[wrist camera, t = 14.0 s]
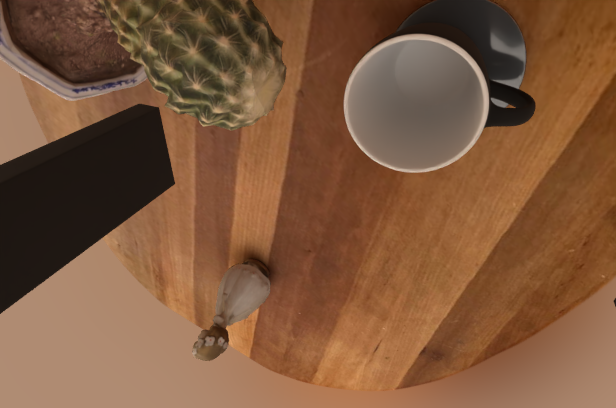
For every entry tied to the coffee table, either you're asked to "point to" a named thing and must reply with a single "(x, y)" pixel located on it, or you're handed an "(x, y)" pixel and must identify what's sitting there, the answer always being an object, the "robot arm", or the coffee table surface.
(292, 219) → the coffee table surface
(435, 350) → the coffee table surface
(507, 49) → the coaster
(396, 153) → the mug
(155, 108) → the robot arm
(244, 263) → the figurine
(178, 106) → the potted plant
